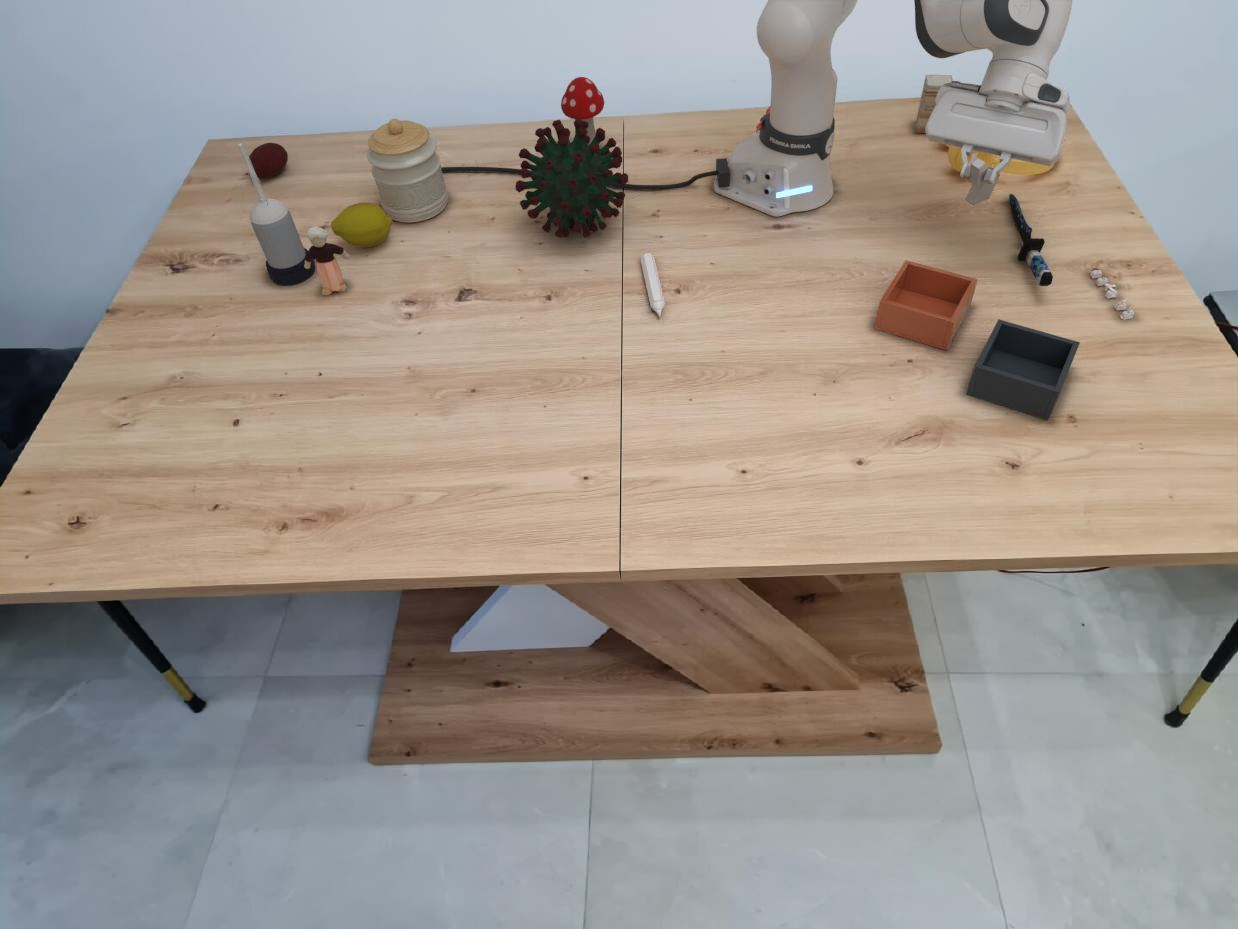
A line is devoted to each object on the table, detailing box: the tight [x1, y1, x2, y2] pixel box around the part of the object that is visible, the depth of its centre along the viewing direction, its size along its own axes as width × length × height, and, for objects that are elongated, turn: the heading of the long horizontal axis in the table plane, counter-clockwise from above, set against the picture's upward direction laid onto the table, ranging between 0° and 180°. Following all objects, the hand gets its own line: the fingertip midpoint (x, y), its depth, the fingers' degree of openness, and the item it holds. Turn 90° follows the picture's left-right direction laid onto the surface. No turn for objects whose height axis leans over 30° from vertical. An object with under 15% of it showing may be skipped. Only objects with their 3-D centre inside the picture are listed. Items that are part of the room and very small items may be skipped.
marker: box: [640, 252, 666, 317], centre depth 152 cm, size 3×2×16 cm
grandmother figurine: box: [304, 225, 350, 296], centre depth 155 cm, size 8×4×13 cm, turn 118°
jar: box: [366, 118, 449, 223], centre depth 169 cm, size 13×13×18 cm
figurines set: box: [1089, 269, 1136, 320], centre depth 143 cm, size 12×3×3 cm, turn 6°
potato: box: [248, 142, 289, 179], centre depth 185 cm, size 8×9×6 cm
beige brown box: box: [915, 74, 954, 134], centre depth 178 cm, size 5×4×10 cm
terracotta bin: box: [874, 259, 979, 351], centre depth 142 cm, size 12×12×6 cm
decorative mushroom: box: [560, 76, 605, 148], centre depth 179 cm, size 10×9×15 cm
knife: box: [1008, 193, 1054, 287], centre depth 152 cm, size 31×3×4 cm, turn 170°
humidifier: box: [237, 142, 316, 287], centre depth 155 cm, size 8×8×25 cm
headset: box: [944, 138, 1066, 176], centre depth 169 cm, size 18×21×9 cm
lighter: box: [965, 159, 1001, 206], centre depth 141 cm, size 7×2×8 cm, turn 125°
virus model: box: [515, 119, 629, 239], centre depth 159 cm, size 20×20×20 cm
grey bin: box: [966, 319, 1081, 421], centre depth 131 cm, size 12×12×6 cm
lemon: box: [330, 202, 394, 248], centre depth 165 cm, size 11×8×8 cm
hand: (976, 180), depth 140 cm, fingers closed on lighter, 2 cm apart
